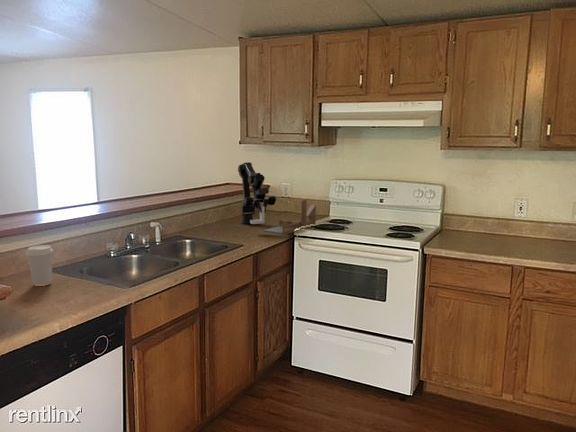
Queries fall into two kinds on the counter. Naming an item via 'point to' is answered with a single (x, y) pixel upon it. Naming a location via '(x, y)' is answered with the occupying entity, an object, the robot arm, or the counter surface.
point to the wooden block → (307, 214)
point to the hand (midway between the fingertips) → (263, 212)
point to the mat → (277, 230)
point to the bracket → (262, 217)
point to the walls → (289, 225)
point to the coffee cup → (40, 263)
